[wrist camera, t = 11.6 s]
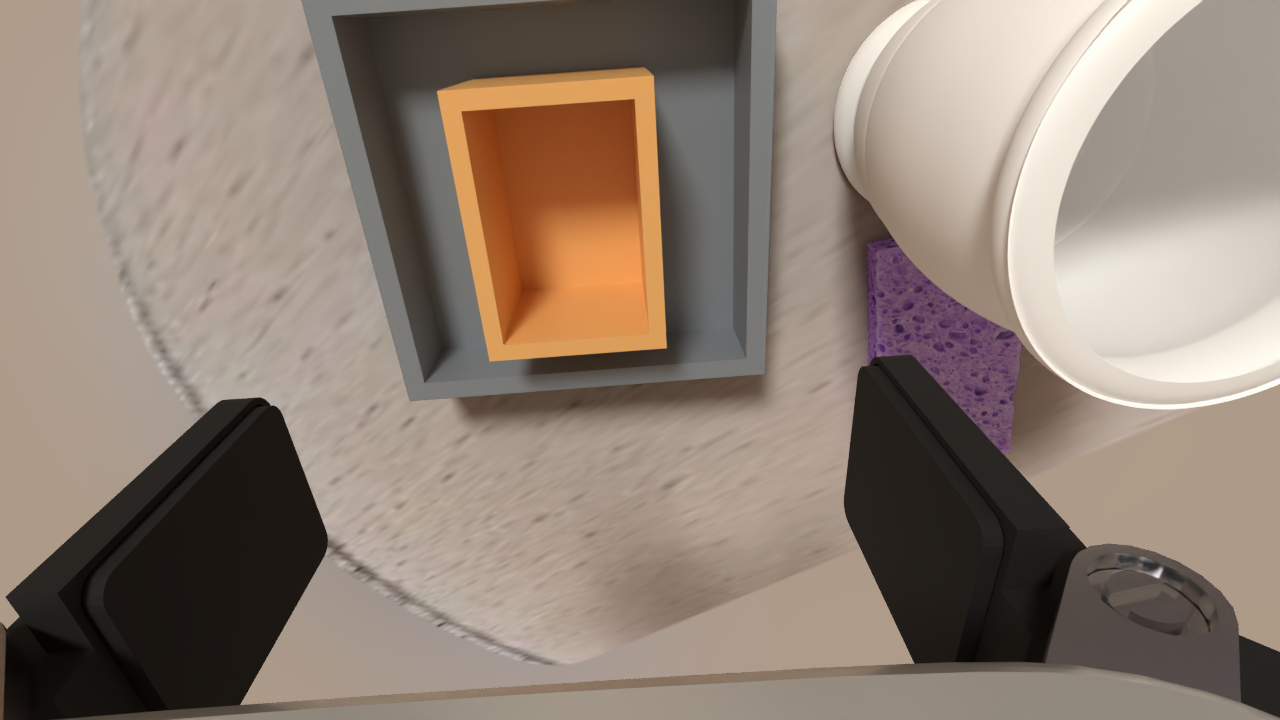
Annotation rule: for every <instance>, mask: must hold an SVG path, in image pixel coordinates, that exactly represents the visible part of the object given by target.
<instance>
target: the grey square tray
mask: <svg viewBox="0 0 1280 720" xmlns="http://www.w3.org/2000/svg"><path fill="white" fill-rule="evenodd" d="M301 1H302V5H303V8H304V12H305V16H306V19H307V23H308V27H309V30H310V34H311V38H312V42H313V45H314V49H315V53H316V56H317V60H318V64H319V67H320V71H321V75H322V79H323V82H324V86H325V90H326V93H327V97H328V101H329V104H330V108H331V112H332V116H333V119H334V123H335V127H336V130H337V134H338V138H339V141H340V145H341V149H342V153H343V156H344V160H345V164H346V167H347V171H348V175H349V178H350V182H351V186H352V190H353V193H354V197H355V201H356V204H357V208H358V212H359V215H360V219H361V223H362V227H363V230H364V234H365V238H366V241H367V245H368V249H369V252H370V256H371V260H372V264H373V267H374V271H375V275H376V278H377V282H378V286H379V289H380V293H381V297H382V301H383V304H384V308H385V312H386V315H387V319H388V323H389V326H390V330H391V334H392V338H393V341H394V345H395V349H396V352H397V356H398V360H399V363H400V367H401V371H402V374H403V378H404V382H405V386H406V389H407V393H408V397H409V400H410V401H419V400H432V399H445V398H458V397H472V396H485V395H498V394H511V393H524V392H537V391H550V390H563V389H576V388H590V387H603V386H616V385H629V384H642V383H655V382H668V381H681V380H694V379H707V378H721V377H734V376H747V375H760V374H765V353H766V322H767V291H768V261H769V230H770V199H771V168H772V138H773V107H774V76H775V45H776V14H777V0H301ZM641 66H644V67H645V68H646V69H647V70H648V71H649V72H650V73H651V74H652V75H654V92H655V113H656V134H657V154H658V175H659V196H660V217H661V238H662V259H663V280H664V300H665V321H666V342H667V348H663V349H650V350H637V351H623V352H610V353H597V354H584V355H570V356H557V357H544V358H531V359H517V360H504V361H491V362H490V361H489V356H488V351H487V346H486V341H485V336H484V330H483V325H482V320H481V315H480V310H479V305H478V300H477V295H476V289H475V284H474V279H473V274H472V269H471V264H470V259H469V254H468V248H467V243H466V238H465V233H464V228H463V223H462V218H461V213H460V207H459V202H458V197H457V192H456V187H455V182H454V177H453V171H452V166H451V161H450V156H449V151H448V146H447V141H446V136H445V130H444V125H443V120H442V115H441V110H440V105H439V100H438V95H437V91H439V90H442V89H445V88H448V87H451V86H454V85H457V84H460V83H463V82H466V81H469V80H472V79H475V78H487V77H501V76H515V75H529V74H543V73H557V72H571V71H585V70H599V69H613V68H627V67H641Z"/></svg>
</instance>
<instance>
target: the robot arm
mask: <svg viewBox="0 0 1280 720" xmlns="http://www.w3.org/2000/svg"><path fill="white" fill-rule="evenodd" d="M844 508H845V514H846V518H847V520H848V523H849V525H850V527H851V529H852V531H853V534H854V536H855V538H856V540H857V542H858V544H859V546H860V548H861V551H862V553H863V555H864V557H865V559H866V561H867V563H868V565H869V568H870V570H871V572H872V574H873V576H874V578H875V580H876V583H877V584H878V587H879V589H880V591H881V593H882V595H883V597H884V600H885V602H886V604H887V606H888V608H889V610H890V612H891V614H892V617H893V618H894V621H895V623H896V625H897V627H898V629H899V631H900V634H901V636H902V638H903V640H904V642H905V644H906V646H907V648H908V651H909V653H910V655H911V657H912V659H913V661H914V663H915V664H898V665H876V666H854V667H831V668H810V669H792V670H776V671H759V672H745V673H744V672H742V673H726V674H708V675H693V676H676V677H659V678H642V679H625V680H609V681H592V682H579V683H562V684H546V685H532V686H531V685H530V686H516V687H501V688H500V687H499V688H485V689H469V690H454V691H440V692H424V693H410V694H393V695H378V696H364V697H349V698H335V699H321V700H309V701H293V702H279V703H265V704H253V705H252V704H251V705H240V704H241V702H242V700H243V699H244V696H245V695H246V693H247V692H248V690H249V688H250V686H251V684H252V683H253V681H254V679H255V678H256V676H257V674H258V672H259V670H260V669H261V667H262V665H263V663H264V662H265V660H266V658H267V656H268V655H269V653H270V651H271V649H272V648H273V646H274V644H275V642H276V640H277V639H278V637H279V635H280V633H281V632H282V630H283V628H284V626H285V625H286V623H287V621H288V619H289V618H290V616H291V614H292V612H293V610H294V609H295V607H296V605H297V603H298V601H299V600H300V598H301V596H302V595H303V593H304V591H305V589H306V588H307V586H308V584H309V582H310V580H311V579H312V577H313V575H314V573H315V572H316V570H317V568H318V566H319V565H320V563H321V561H322V559H323V558H324V555H325V553H326V550H327V543H328V538H327V532H326V529H325V527H324V524H323V521H322V519H321V516H320V513H319V511H318V508H317V505H316V503H315V500H314V497H313V495H312V492H311V490H310V487H309V484H308V482H307V479H306V476H305V474H304V471H303V468H302V466H301V463H300V460H299V458H298V455H297V452H296V450H295V447H294V444H293V442H292V439H291V436H290V434H289V431H288V429H287V426H286V423H285V421H284V418H283V415H282V413H281V411H280V410H279V409H278V408H277V407H276V406H270V404H269V403H268V402H267V401H266V400H265V399H263V398H246V399H231V400H222V401H220V402H218V403H217V404H216V405H215V406H214V407H212V408H211V409H210V410H209V411H208V412H207V413H206V414H205V415H204V416H203V417H202V418H200V419H199V420H198V421H197V422H196V423H195V424H194V425H193V426H192V427H191V428H190V429H188V430H187V431H186V432H185V433H184V434H183V435H182V436H181V437H180V438H179V439H177V440H176V442H174V443H173V444H172V445H171V446H170V447H169V448H168V449H167V450H165V451H164V452H163V453H162V454H161V455H160V456H159V457H158V458H157V459H156V460H155V461H153V463H151V464H150V465H149V466H148V467H147V468H146V469H145V470H144V471H143V472H142V473H140V475H138V476H137V477H136V478H135V479H134V480H133V481H132V482H131V483H129V484H128V485H127V486H126V487H125V488H124V489H123V490H122V491H121V492H120V493H119V494H117V495H116V496H115V497H114V498H113V499H112V500H111V501H110V502H109V503H108V504H107V505H106V506H104V507H103V508H102V509H101V510H100V511H99V512H98V513H97V514H96V515H94V516H93V517H92V518H91V519H90V520H89V521H88V522H87V523H86V524H85V525H84V526H83V527H81V528H80V529H79V530H78V531H77V532H76V533H75V534H74V535H73V536H72V537H71V538H69V539H68V540H67V541H66V542H65V543H64V544H63V545H62V546H61V547H59V548H58V549H57V550H56V551H55V552H54V553H53V554H52V555H51V556H50V557H49V558H47V559H46V560H45V561H44V562H43V563H42V564H41V565H40V566H39V567H38V568H37V569H35V570H34V571H33V572H32V573H31V574H30V575H29V576H28V577H27V578H26V579H25V580H24V581H22V582H21V583H20V584H19V585H18V586H17V587H16V588H15V589H14V590H13V591H11V592H10V593H9V594H8V595H7V596H6V598H7V599H8V601H9V602H10V604H11V605H12V606H13V608H14V609H15V611H16V612H17V613H18V615H19V616H20V617H19V618H18V619H17V620H16V621H15V622H14V623H13V624H12V625H11V626H10V627H9V628H8V629H6V628H5V626H4V625H3V624H2V623H1V622H0V720H1280V652H1278V651H1276V650H1273V649H1271V648H1269V647H1266V646H1264V645H1262V644H1259V643H1257V642H1254V641H1252V640H1250V639H1247V638H1245V637H1242V636H1240V635H1239V628H1238V622H1237V618H1236V615H1235V612H1234V608H1233V607H1232V606H1231V604H1230V603H1229V602H1228V600H1227V599H1226V598H1225V597H1224V595H1223V594H1222V593H1221V591H1219V590H1218V589H1217V588H1216V587H1214V585H1212V584H1211V583H1210V582H1209V581H1207V580H1206V579H1205V578H1204V577H1203V576H1202V575H1200V574H1198V573H1197V572H1195V571H1193V570H1192V569H1190V568H1188V567H1187V566H1185V565H1183V564H1181V563H1180V562H1178V561H1175V560H1173V559H1171V558H1168V557H1166V556H1163V555H1161V554H1159V553H1156V552H1153V551H1149V550H1145V549H1141V548H1137V547H1134V546H1130V545H1129V546H1128V545H1118V544H1102V545H1095V546H1090V547H1088V548H1086V546H1085V545H1084V544H1083V543H1082V542H1081V541H1080V540H1079V539H1078V538H1077V537H1076V535H1075V534H1074V533H1073V532H1072V531H1071V530H1070V529H1069V528H1070V527H1069V526H1068V525H1067V523H1065V521H1064V520H1063V519H1062V518H1061V517H1060V516H1059V515H1058V514H1057V513H1056V511H1055V510H1054V509H1053V508H1052V507H1051V506H1050V505H1049V504H1048V503H1047V502H1046V501H1045V499H1044V498H1043V497H1042V496H1041V495H1040V494H1039V493H1038V492H1037V491H1036V490H1035V488H1034V487H1033V486H1032V485H1031V484H1030V483H1029V482H1028V481H1027V480H1026V479H1025V478H1024V476H1023V475H1022V474H1021V473H1020V472H1019V471H1018V470H1017V469H1016V468H1015V467H1014V466H1013V464H1012V463H1011V462H1010V461H1009V460H1008V459H1007V458H1006V457H1005V456H1004V455H1003V454H1002V452H1001V451H1000V450H999V449H998V448H997V447H996V446H995V445H994V444H993V443H992V442H991V440H990V439H989V438H988V437H987V436H986V435H985V434H984V433H983V432H982V431H981V430H980V428H979V427H978V426H977V425H976V424H975V423H974V422H973V421H972V420H971V419H970V417H969V416H968V415H967V414H966V413H965V412H964V411H963V410H962V409H961V408H960V407H959V405H958V404H957V403H956V402H955V401H954V400H953V399H952V398H951V397H950V396H949V395H948V393H947V392H946V391H945V390H944V389H943V388H942V387H941V386H940V385H939V384H938V383H937V381H936V380H935V379H934V378H933V377H932V376H931V375H930V374H929V373H928V372H927V371H926V369H925V368H924V367H923V366H922V365H921V364H920V363H919V362H918V361H917V360H916V358H915V357H913V356H912V355H896V356H881V357H874V358H873V359H871V362H870V364H869V366H864V367H861V368H860V370H859V373H858V379H857V388H856V397H855V406H854V415H853V424H852V432H851V441H850V450H849V459H848V468H847V477H846V485H845V494H844Z"/></svg>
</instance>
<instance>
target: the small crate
mask: <svg viewBox="0 0 1280 720" xmlns="http://www.w3.org/2000/svg"><path fill="white" fill-rule="evenodd" d="M437 95H438V100H439V105H440V110H441V115H442V120H443V125H444V130H445V136H446V141H447V146H448V151H449V156H450V161H451V166H452V171H453V177H454V182H455V187H456V192H457V197H458V202H459V207H460V213H461V218H462V223H463V228H464V233H465V238H466V243H467V248H468V254H469V259H470V264H471V269H472V274H473V279H474V284H475V289H476V295H477V300H478V305H479V310H480V315H481V320H482V325H483V330H484V336H485V341H486V346H487V351H488V356H489V361H490V362H491V361H504V360H517V359H531V358H544V357H557V356H570V355H584V354H597V353H610V352H623V351H637V350H650V349H663V348H667V342H666V321H665V300H664V280H663V259H662V238H661V217H660V196H659V175H658V154H657V134H656V113H655V92H654V75H652V74H651V73H650V72H649V71H648V70H647V69H646V68H645V67H644V66H641V67H627V68H613V69H599V70H585V71H571V72H557V73H543V74H529V75H515V76H501V77H487V78H475V79H472V80H469V81H466V82H463V83H460V84H457V85H454V86H451V87H448V88H445V89H442V90H439V91H437Z"/></svg>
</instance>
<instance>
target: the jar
mask: <svg viewBox="0 0 1280 720" xmlns="http://www.w3.org/2000/svg"><path fill="white" fill-rule="evenodd" d="M834 140H835V147H836V152H837V155H838V159H839V162H840V164H841V167H842V169H843V171H844V173H845V175H846V177H847V178H848V180H849V181H850V183H851V184H852V186H853V187H854V188H855V189H856V190H857V191H858V192H859V193H860V194H861V195H862V196H863V197H864V198H865V199H866V200H868V201H869V202H870V204H871V206H872V207H873V209H874V211H875V212H876V214H877V215H878V217H879V218H880V219H881V221H882V222H883V223H884V225H885V226H886V228H887V229H888V231H889V232H890V234H891V236H892V237H893V239H894V240H895V241H896V243H897V244H898V246H899V247H900V248H901V249H902V251H903V252H904V253H905V254H906V256H907V257H908V258H909V259H910V260H911V261H912V263H913V264H914V265H915V266H916V267H917V268H918V269H919V270H920V271H921V272H922V273H923V274H924V275H925V276H926V277H927V278H928V279H929V280H931V281H932V282H933V283H934V284H935V285H936V286H938V287H939V288H940V289H941V290H942V291H944V292H945V293H946V294H948V295H949V296H950V297H952V298H953V299H955V300H956V301H958V302H959V303H961V304H962V305H964V306H965V307H967V308H968V309H970V310H972V311H973V312H975V313H977V314H979V315H980V316H982V317H984V318H986V319H988V320H990V321H992V322H993V323H995V324H997V325H999V326H1002V327H1004V328H1006V329H1008V330H1010V331H1012V332H1015V334H1016V335H1017V337H1018V338H1019V340H1020V341H1021V342H1022V344H1023V345H1024V346H1025V348H1026V349H1027V350H1028V351H1029V352H1030V353H1031V354H1032V355H1033V356H1034V357H1035V358H1036V359H1037V360H1038V361H1039V362H1040V363H1041V364H1042V365H1044V366H1045V367H1046V368H1047V369H1048V370H1050V371H1051V372H1052V373H1054V374H1055V375H1057V376H1058V377H1060V378H1061V379H1063V380H1065V381H1066V382H1068V383H1070V384H1071V385H1073V386H1075V387H1076V388H1078V389H1080V390H1082V391H1084V392H1086V393H1088V394H1090V395H1092V396H1095V397H1097V398H1100V399H1102V400H1105V401H1109V402H1112V403H1116V404H1120V405H1125V406H1130V407H1137V408H1146V409H1183V408H1193V407H1201V406H1207V405H1212V404H1217V403H1222V402H1226V401H1230V400H1234V399H1237V398H1241V397H1244V396H1248V395H1251V394H1254V393H1257V392H1260V391H1263V390H1265V389H1268V388H1271V387H1273V386H1276V385H1278V384H1280V0H916V1H914V2H912V3H910V4H908V5H906V6H904V7H903V8H901V9H899V10H898V11H896V12H895V13H893V14H892V15H891V16H889V17H888V18H887V19H886V20H884V21H883V22H882V23H881V24H880V25H879V26H878V27H877V28H876V29H875V30H874V31H873V32H872V33H871V34H870V35H869V36H868V37H867V39H866V40H865V41H864V42H863V44H862V45H861V46H860V48H859V49H858V51H857V52H856V54H855V55H854V57H853V59H852V60H851V62H850V64H849V66H848V68H847V70H846V73H845V75H844V77H843V80H842V82H841V85H840V88H839V92H838V96H837V100H836V105H835V112H834Z"/></svg>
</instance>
